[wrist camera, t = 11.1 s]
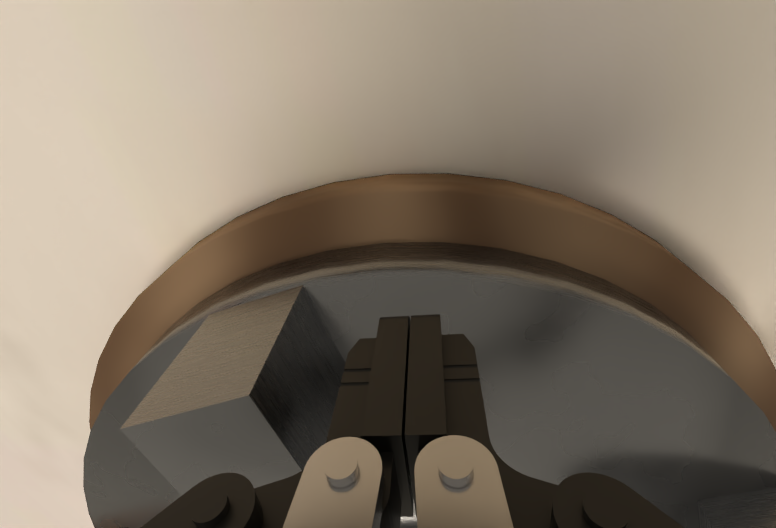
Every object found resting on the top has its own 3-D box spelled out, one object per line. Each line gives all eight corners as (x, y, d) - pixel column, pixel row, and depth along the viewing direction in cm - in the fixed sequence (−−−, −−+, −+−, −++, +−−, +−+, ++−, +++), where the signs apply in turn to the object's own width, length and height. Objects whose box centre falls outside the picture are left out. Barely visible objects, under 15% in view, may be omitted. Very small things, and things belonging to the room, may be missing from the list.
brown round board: (914, 196, 13) (998, 221, 11) (631, 636, 27) (647, 680, 25) (20, 152, 15) (-40, 168, 13) (185, 593, 29) (168, 632, 27)
